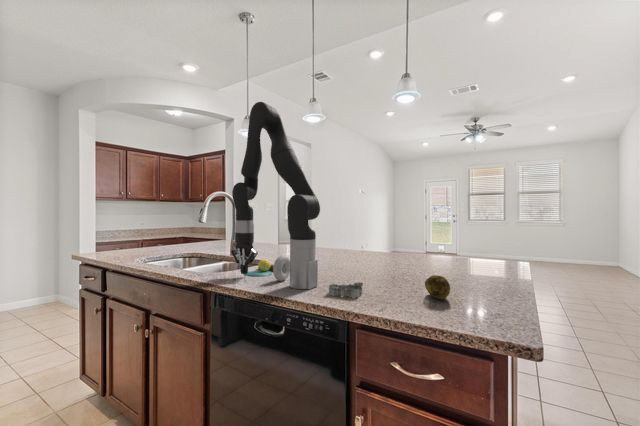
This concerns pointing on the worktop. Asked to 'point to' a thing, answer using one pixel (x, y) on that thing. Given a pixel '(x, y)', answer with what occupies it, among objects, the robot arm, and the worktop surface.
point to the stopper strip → (270, 268)
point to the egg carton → (346, 289)
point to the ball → (264, 265)
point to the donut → (281, 268)
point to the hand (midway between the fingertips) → (244, 273)
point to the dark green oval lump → (437, 286)
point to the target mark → (258, 273)
